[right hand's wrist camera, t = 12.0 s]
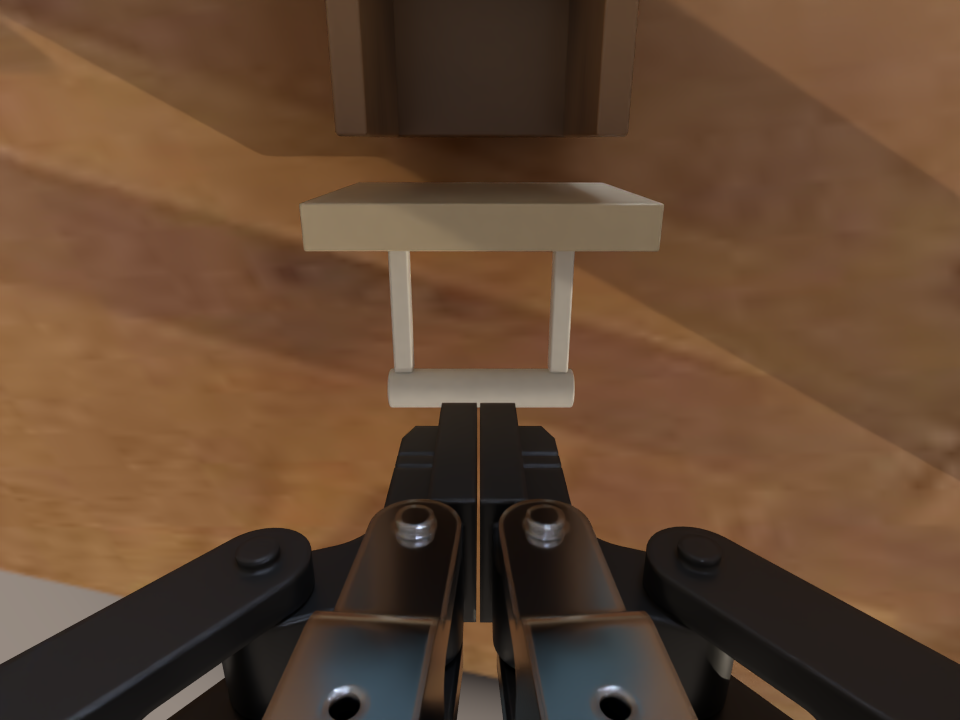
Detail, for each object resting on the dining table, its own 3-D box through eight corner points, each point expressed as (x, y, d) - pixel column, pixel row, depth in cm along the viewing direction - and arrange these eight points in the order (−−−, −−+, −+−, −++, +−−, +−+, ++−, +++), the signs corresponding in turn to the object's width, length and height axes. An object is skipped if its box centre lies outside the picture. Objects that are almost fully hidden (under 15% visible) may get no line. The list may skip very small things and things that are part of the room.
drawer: (591, 355, 24) (638, 446, 17) (370, 354, 24) (323, 446, 17) (648, -437, 16) (785, -903, 9) (314, -438, 16) (181, -905, 9)
